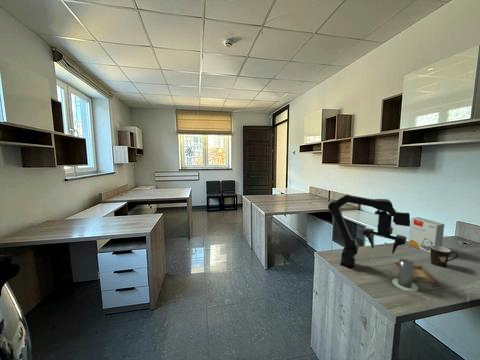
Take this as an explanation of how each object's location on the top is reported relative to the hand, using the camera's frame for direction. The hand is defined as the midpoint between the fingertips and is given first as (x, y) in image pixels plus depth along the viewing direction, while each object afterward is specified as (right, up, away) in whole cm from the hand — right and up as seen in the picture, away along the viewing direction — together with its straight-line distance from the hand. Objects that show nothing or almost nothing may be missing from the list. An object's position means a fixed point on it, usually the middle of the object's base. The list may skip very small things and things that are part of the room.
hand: (382, 250), depth 112 cm
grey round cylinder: (+5, -14, -9) cm, 17 cm away
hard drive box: (+49, -9, +29) cm, 58 cm away
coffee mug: (+40, -12, +8) cm, 43 cm away
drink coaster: (+5, -14, -9) cm, 17 cm away
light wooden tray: (+16, -13, 0) cm, 21 cm away
